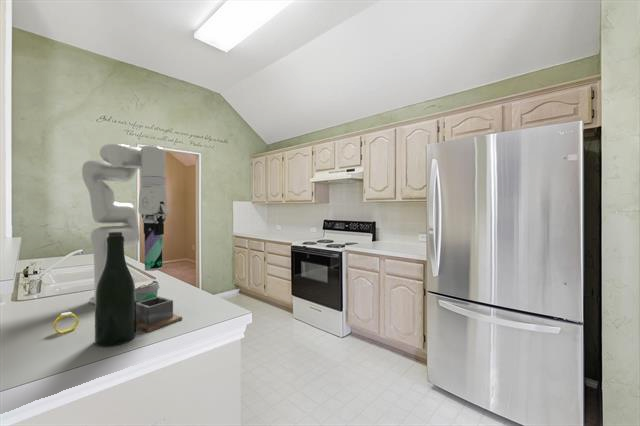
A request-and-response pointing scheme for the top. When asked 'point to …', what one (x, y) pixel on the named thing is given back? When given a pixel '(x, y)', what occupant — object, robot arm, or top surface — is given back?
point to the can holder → (155, 314)
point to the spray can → (153, 246)
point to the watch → (65, 316)
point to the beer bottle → (115, 297)
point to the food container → (147, 291)
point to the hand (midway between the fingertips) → (153, 233)
